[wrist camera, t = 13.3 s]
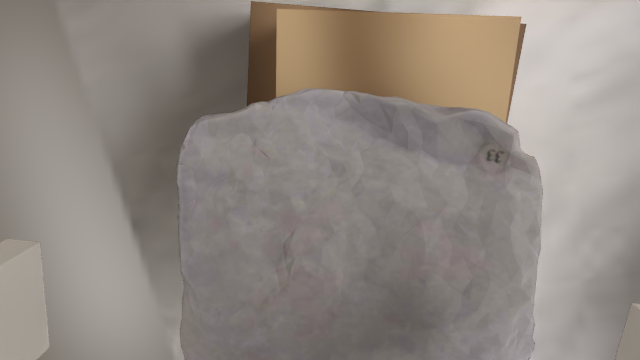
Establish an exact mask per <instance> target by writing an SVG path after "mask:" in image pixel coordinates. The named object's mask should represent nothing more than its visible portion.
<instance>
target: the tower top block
mask: <svg viewBox="0 0 640 360" xmlns="http://www.w3.org/2000/svg"><path fill="white" fill-rule="evenodd" d="M520 22H521V17H512V16H481V15H450V14H420V13H389V12H358V11H328V10H297V9H277V41H276V98H277V97H280V96H284V95H288V94H292V93H294V92H297V91H299V90H303V89H306V88H319V89H331V90H339V91H356V92H358V93H368V94H371V95H375V96H379V97H395V96H396V97H400V98H404V99H407V100H410V101H413V102H415V103H421V104H428V105H435V106H441V107H463V108H475V109H480V110H483V111H488V112H490V113H491V114H492V115H494V116H497V117H498V118H500V119H501V120H503V121H504V122H506V117H507V111H508V104H509V97H510V90H511V84H512V77H513V70H514V63H515V56H516V50H517V43H518V36H519V29H520Z"/></svg>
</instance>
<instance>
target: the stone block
mask: <svg viewBox="0 0 640 360" xmlns="http://www.w3.org/2000/svg"><path fill="white" fill-rule="evenodd" d="M176 173H177V189H178V198H179V204H178V209H179V215H178V235H179V252H180V261H181V273H182V277H183V281H184V293H183V302H182V320H181V327H180V340H181V347H182V350H183V354H184V358H185V360H529V358H530V355H531V353H532V352H533V350H534V344H535V343H534V341H533V338H532V337H533V331H534V326H535V324H534V319H533V306H534V294H535V287H536V276H537V263H538V257H539V253H540V227H541V209H542V195H543V189H542V183H541V177H540V170H539V167H538V164H537V161H536V159H535V158H534V157H532V156H530V155H527V154H526V153H524V152H523V151H522V150H521V148H520V141H519V133H518V131H517V130H516V129H515V128H513V127H512V126H510V125H508V124H507V123H506V122H504V121H503V120H501V119H500V118H498V117H497V116H494V115H492V114H491V113H490V112H488V111H483V110H480V109H475V108H463V107H441V106H435V105H428V104H421V103H415V102H413V101H410V100H407V99H404V98H400V97H396V96H395V97H379V96H375V95H371V94H368V93H358V92H356V91H339V90H331V89H319V88H306V89H303V90H299V91H297V92H294V93H292V94H288V95H284V96H280V97H277V98H274V99H272V100H270V101H268V102H257V103H252V104H250V105H248V106H246V107H245V108H243V109H240V110H237V111H234V112H230V113H217V114H209V115H206V116H202V117H199V118H198V119H197V120H196V121H195V122H194V124H193V125H192V127H191V128H190V129H189V131H188V133H187V135H186V137H185V139H184V141H183V143H182V145H181V147H180V150H179V156H178V161H177V166H176Z"/></svg>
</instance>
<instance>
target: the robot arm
mask: <svg viewBox="0 0 640 360" xmlns="http://www.w3.org/2000/svg"><path fill="white" fill-rule="evenodd" d="M49 347H50V344H49V333H48V322H47V311H46V301H45V290H44V279H43V268H42V258H41V247H40V242H33V241H24V240H14V239H6V240H4V241H2V242H0V360H37V359H38V358H39V357H40V356H41V355H42V354H43V353H44V352H45V351H46V350H47V349H48V348H49ZM615 360H640V304H638V303H632V304H631V308H630V311H629V314H628V317H627V321H626V324H625V327H624V331H623V334H622V337H621V341H620V344H619V347H618V351H617V354H616V357H615Z"/></svg>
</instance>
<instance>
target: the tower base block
mask: <svg viewBox="0 0 640 360" xmlns="http://www.w3.org/2000/svg"><path fill="white" fill-rule="evenodd" d="M277 9H297V10H328V11H358V12H374V11H362V10H350V9H338V8H326V7H314V6H301V5H289V4H277V3H265V2H253V1H251V15H250V41H249V67H248V93H247V106H248V105H250V104H252V103H257V102H268V101H270V100H272V99H274V98H276V41H277ZM525 28H526V24H520V29H519V36H518V43H517V50H516V56H515V63H514V70H513V77H512V84H511V90H510V97H509V104H508V111H507V117H506V123H507V120H508V115H509V110H510V105H511V100H512V95H513V90H514V84H515V79H516V74H517V69H518V64H519V59H520V54H521V49H522V43H523V38H524V33H525Z"/></svg>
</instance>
